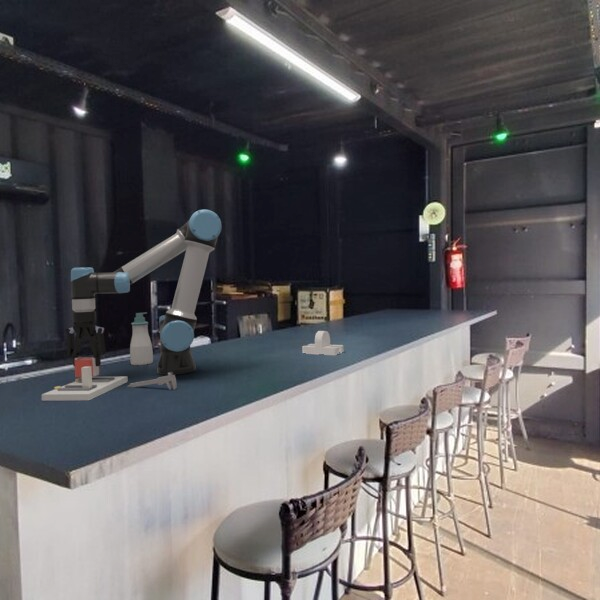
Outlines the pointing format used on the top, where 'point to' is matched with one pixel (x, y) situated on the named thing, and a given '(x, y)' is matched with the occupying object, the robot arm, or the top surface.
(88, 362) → the brick-red cube
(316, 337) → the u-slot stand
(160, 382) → the caliper
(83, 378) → the post
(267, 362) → the top surface
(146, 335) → the soap bottle
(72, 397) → the panel
